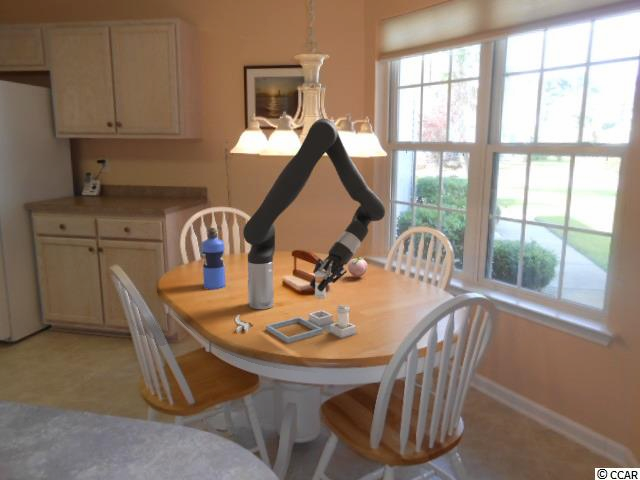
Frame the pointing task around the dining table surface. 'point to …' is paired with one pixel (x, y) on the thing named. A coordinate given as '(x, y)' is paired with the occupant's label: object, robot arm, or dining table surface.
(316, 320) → the fuse holder
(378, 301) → the dining table surface
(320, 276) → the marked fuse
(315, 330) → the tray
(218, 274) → the water bottle
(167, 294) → the dining table surface
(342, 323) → the fuse
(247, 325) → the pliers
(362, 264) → the decorative fruit
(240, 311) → the dining table surface
